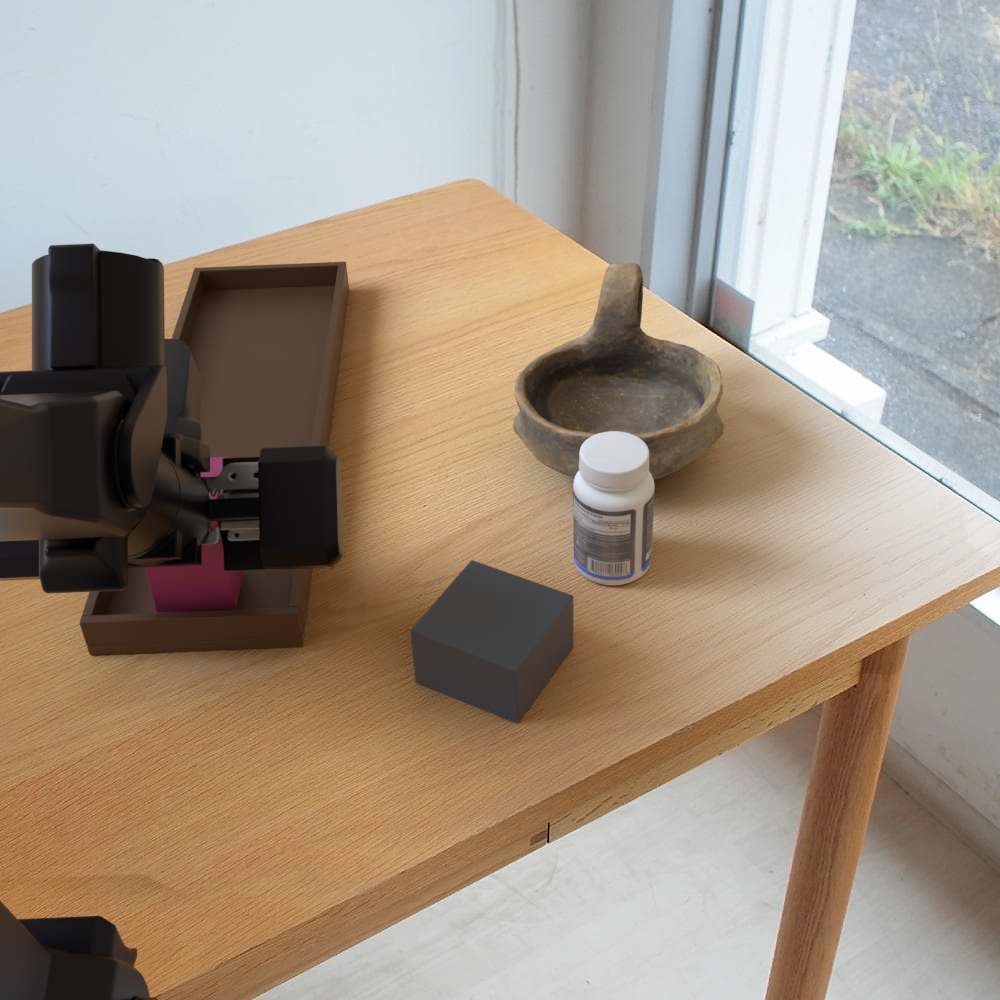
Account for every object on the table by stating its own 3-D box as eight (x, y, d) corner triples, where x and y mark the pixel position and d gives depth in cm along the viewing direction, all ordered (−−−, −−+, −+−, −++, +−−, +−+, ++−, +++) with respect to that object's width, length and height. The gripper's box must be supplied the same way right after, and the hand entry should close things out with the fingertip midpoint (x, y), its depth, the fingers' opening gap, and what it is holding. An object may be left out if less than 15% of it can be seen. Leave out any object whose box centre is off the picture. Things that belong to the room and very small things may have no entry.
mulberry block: (236, 609, 76) (214, 507, 71) (156, 612, 76) (129, 510, 71) (246, 557, 79) (226, 456, 75) (170, 560, 79) (145, 459, 75)
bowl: (501, 515, 84) (496, 384, 78) (533, 367, 98) (531, 245, 92) (720, 528, 82) (732, 395, 76) (721, 375, 96) (731, 252, 90)
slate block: (518, 724, 70) (516, 671, 68) (415, 682, 73) (409, 630, 70) (573, 647, 75) (573, 595, 72) (474, 611, 77) (471, 559, 75)
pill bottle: (613, 526, 83) (616, 416, 78) (667, 563, 80) (674, 451, 75) (556, 559, 81) (555, 448, 75) (610, 599, 78) (612, 486, 72)
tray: (302, 647, 75) (297, 613, 74) (89, 655, 75) (78, 622, 74) (349, 289, 108) (345, 261, 106) (199, 295, 108) (194, 267, 106)
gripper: (316, 318, 62) (354, 386, 78) (-81, 334, 62) (37, 399, 78) (321, 554, 61) (359, 575, 76) (-84, 570, 61) (36, 588, 76)
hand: (197, 529), depth 77 cm, fingers closed on mulberry block, 4 cm apart
